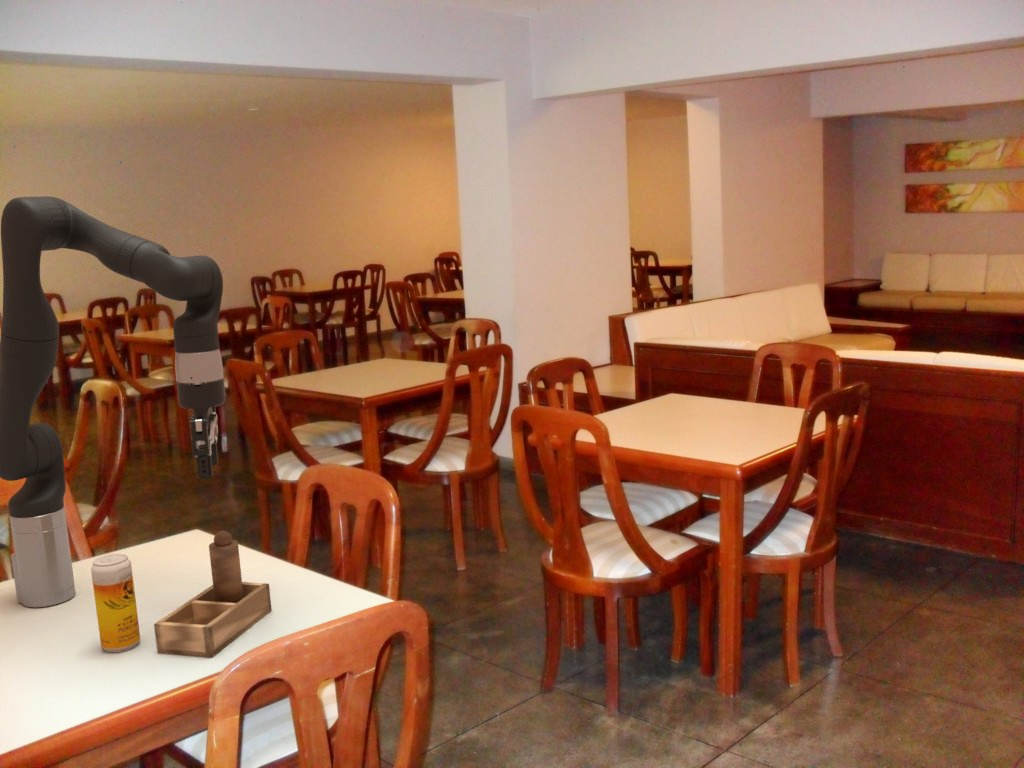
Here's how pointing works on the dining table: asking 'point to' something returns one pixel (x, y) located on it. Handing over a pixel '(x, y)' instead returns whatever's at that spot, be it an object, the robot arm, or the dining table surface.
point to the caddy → (215, 607)
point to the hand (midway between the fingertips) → (208, 471)
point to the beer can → (115, 602)
